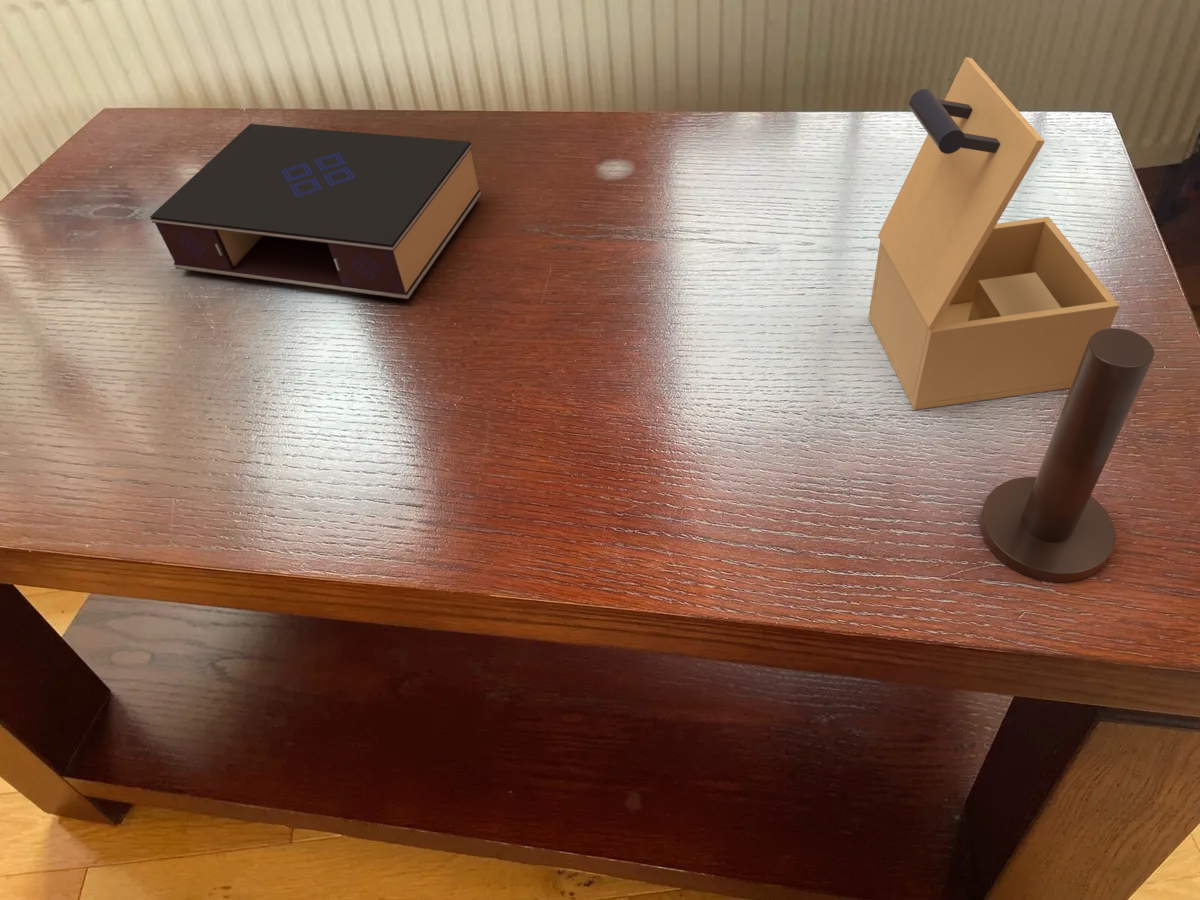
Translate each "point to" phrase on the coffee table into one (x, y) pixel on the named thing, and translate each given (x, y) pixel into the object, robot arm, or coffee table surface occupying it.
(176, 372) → the coffee table surface
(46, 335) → the coffee table surface
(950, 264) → the carton flap
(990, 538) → the stand
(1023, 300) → the block
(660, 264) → the coffee table surface
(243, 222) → the black flat box
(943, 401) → the carton
